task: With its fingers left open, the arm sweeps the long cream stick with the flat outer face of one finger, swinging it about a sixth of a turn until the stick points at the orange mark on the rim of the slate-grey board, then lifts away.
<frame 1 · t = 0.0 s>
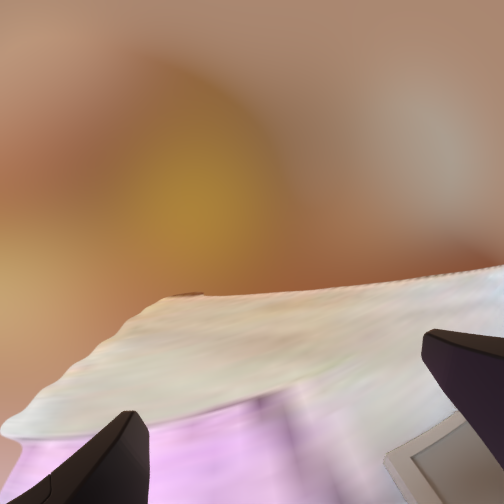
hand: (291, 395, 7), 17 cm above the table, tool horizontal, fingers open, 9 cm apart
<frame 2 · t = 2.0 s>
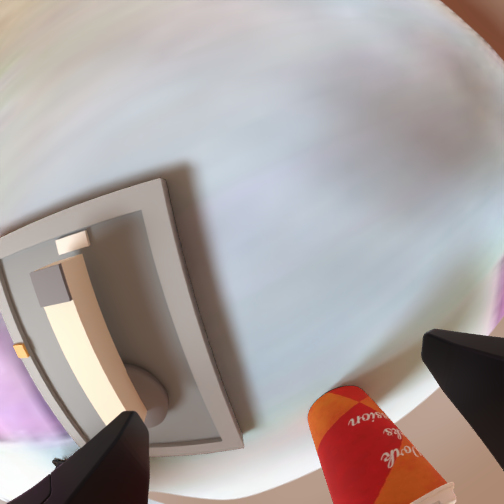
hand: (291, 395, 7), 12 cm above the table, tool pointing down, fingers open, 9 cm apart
long cream stick: (100, 365, 14), point 3 cm above the table, hinge at 0.0°
board: (104, 354, 18), on the table
coffee cup: (336, 407, 22), on the table
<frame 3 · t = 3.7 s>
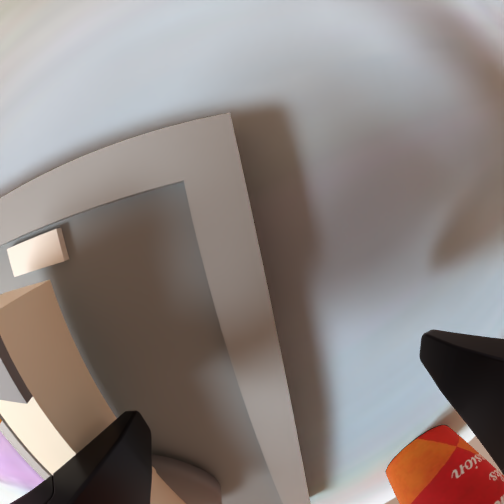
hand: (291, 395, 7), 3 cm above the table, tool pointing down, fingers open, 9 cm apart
long cream stick: (110, 471, 6), point 3 cm above the table, hinge at 0.0°, touching gripper
board: (112, 429, 10), on the table
coffee cup: (417, 450, 13), on the table
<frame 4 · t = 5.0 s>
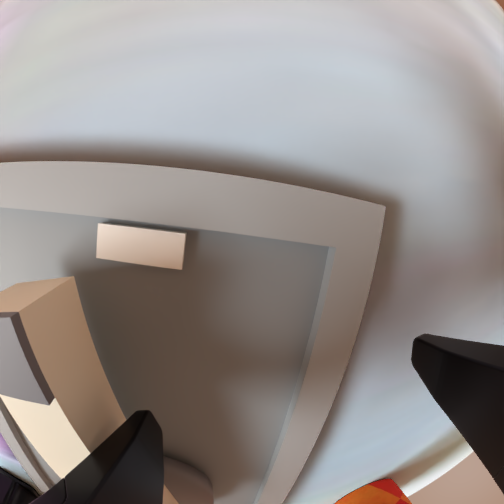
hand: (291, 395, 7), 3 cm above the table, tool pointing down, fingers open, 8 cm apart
long cream stick: (112, 468, 6), point 3 cm above the table, hinge at 14.5°, touching gripper
board: (120, 423, 10), on the table
coffee cup: (361, 495, 14), on the table
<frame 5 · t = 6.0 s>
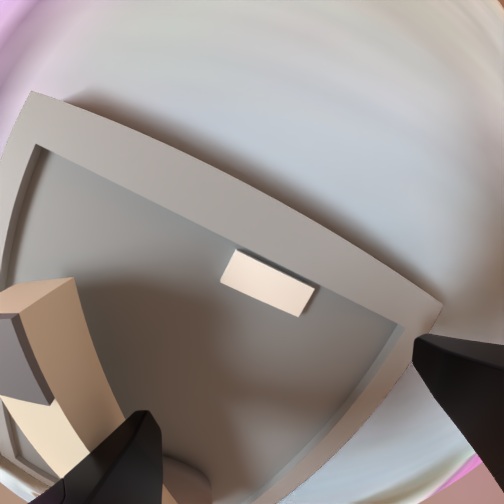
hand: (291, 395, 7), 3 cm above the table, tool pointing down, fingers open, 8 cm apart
long cream stick: (111, 468, 6), point 3 cm above the table, hinge at 33.4°, touching gripper
board: (140, 423, 10), on the table
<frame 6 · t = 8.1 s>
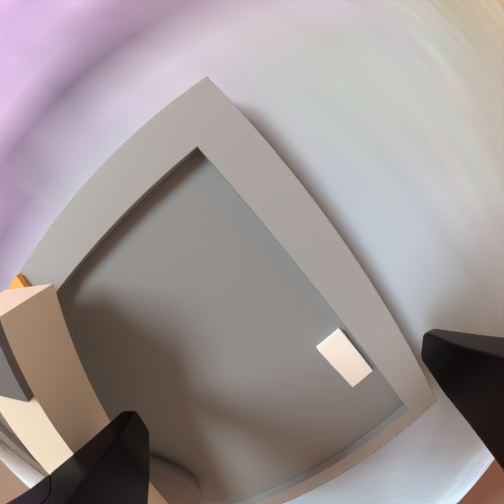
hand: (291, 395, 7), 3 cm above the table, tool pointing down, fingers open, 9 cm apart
long cream stick: (97, 466, 6), point 3 cm above the table, hinge at 57.1°
board: (157, 429, 10), on the table
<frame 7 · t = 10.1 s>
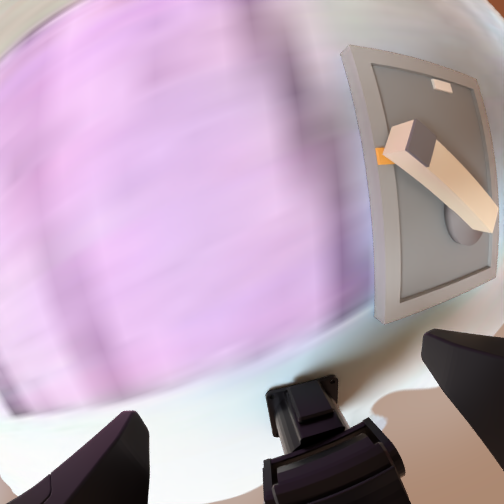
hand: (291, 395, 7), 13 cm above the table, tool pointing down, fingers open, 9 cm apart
long cream stick: (455, 189, 16), point 3 cm above the table, hinge at 57.1°
board: (441, 178, 20), on the table
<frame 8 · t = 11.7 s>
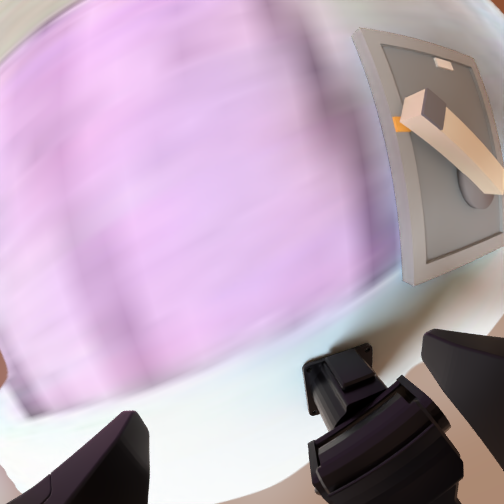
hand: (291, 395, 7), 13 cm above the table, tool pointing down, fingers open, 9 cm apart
long cream stick: (466, 154, 16), point 3 cm above the table, hinge at 57.1°
board: (450, 148, 20), on the table
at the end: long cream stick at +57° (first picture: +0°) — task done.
